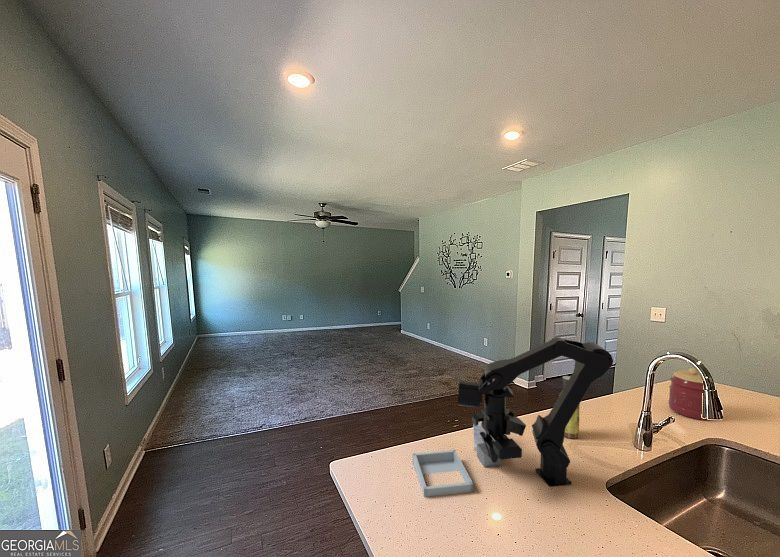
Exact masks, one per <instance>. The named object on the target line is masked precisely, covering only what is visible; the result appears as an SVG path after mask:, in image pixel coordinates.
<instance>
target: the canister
mask: <svg viewBox="0 0 780 557" xmlns="http://www.w3.org/2000/svg"><path fill="white" fill-rule="evenodd" d="M696 369H697V368H695V367H690V368H689V369H681V370H680V369H679V370H678V371H674V372H673V373H672V376H670V377H669V380H670V381H671V384H670V385H669V387H668V388H669V398H668V407H669V409H671V411H673V412H675V413H677V414H680V415H682V416H684V417H688V418H693V419H697V420H703V421H706V420H705V419H702V418H701V414H702V393H703V383H702V380H701V377H700V374H699V373H700V372H699V371H698V370H697V371H698V372H699V373H698V372H697V371H696ZM713 381H714V379H713ZM716 390H717V386H716Z"/></svg>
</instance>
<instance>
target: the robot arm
mask: <svg viewBox="0 0 780 557" xmlns="http://www.w3.org/2000/svg"><path fill="white" fill-rule="evenodd" d="M560 357H563V358H564V357H565V358H568V359H570V360H573V361H574V368H573V372H572V374H571V375H570V379H569V381H568V382H567V384H566V386H565V387H564V389H563V388H562V390H563V391H562V390H561V392H562V393H561V392H560V393H561V394H560V393H559V395H560V396H559V395H558V397H557V400H555V401H556V402H555V403H554V405H553V407H552V408H551V410H550V411H549V413H548V414H547V415H546V416H541V415H540V414H538V415H537V417H536V420H535V422H534V423H533V424H531V427H532V430H531V431H532V436H533V439H534V442H535V446H536V448H537V450H538V451H539V453H540V459H539V460H540V464H539V466H540V467H538V468H535V472H536V473H537V474H538V476H539V477H540V478H541V479H542V480H543V482H544V483H545V484H547V486H548V487H551V488H552V487H561V486H570V485H572V481H571V480H570V479H569V478H568V477H567V472H568V467H569V465H570V464H571V459H570V458H569V455H568V453H567V450H566V448H565V446H564V440H565V436H564V434H565V428H566V426H567V424H568V422H569V421H570V419H571V417H572V416H573V414H574V412H575V411H576V409H577V407H578V406H579V407H580V404H581V402H582V401H583V399H584V398H585V395H586V394H587V392H588V391H589V388H590V387H591V385H592V384H593V383H594V382H595V381H597V380H599V379H600V378H602V377H604V376H605V375H606V374H607V372H609V370H610V369H611V368H612V367H613V364H614V359H613V356H612V354H611V353H610V352H609V351H608V350H606V349H605V348H604V347H602V346H601V345H599V344H598V343H595V342H585V343H584V342H580V341H576V340H570V339H566V338H563V337H560V336H555V337H553V338H551V339H550V340H549V341H546V342H544V343H542V344H540V345H537V346H536V347H533V348H532V349H529V350H527V351H525V352H523V353H521V354H518V355H517V356H514V357H511V358H508V359H507V358H506V359H499V360H496V361H492V362H489V363H488V364H486V366H485V368H484V373H483V374H482V375H481V376H480V377H479V379H478V380H477V382H470V381H469V382H468V381H465V380H459V382H458V394H457V406H461V407H467V408H469V407H470V408H480V407H481V405H483V404H484V405H483V406H484V408H481V411H480V412H474V413H473V414H472V415H471V423H473V425H475V426H477V425H478V422H481V421H482V423H481V427H482V432H480V435H481V437H482V439H483V441H484V444H485V446H486V448H487V451H488V453H489V456H490V458H491V460H492V462H493V463H495V462H497V460H498V457H499V458H500V460H512V459H521V458H522V456H523V448H522V447H520V445H519V444H518V443H517V442H516V441H515V440H514V439H513V438H509V437H508V436H511V433H512V434H515V435H518V436H520V437H523V435H524V432H525V430H526V427H527V425H526V424H525V422H523V420H521V418H519V417H517V415H515V411H513V410H512V409H510V408H507V405H506V404H507V398H514V396H515V395H514V393H513V390H512V389H511V388H510V387H509V385H510V384H512V383H513V382H514V381H515V380H516V378H518V377H519V376H520V375H523V374H524V373H526V372H528V371H531V370H532V369H535V368H537V367H539V366H542V365H544V364H546V363H549V362H551V361H552V360H555V359H557V358H560ZM483 395H484V403H483Z"/></svg>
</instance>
